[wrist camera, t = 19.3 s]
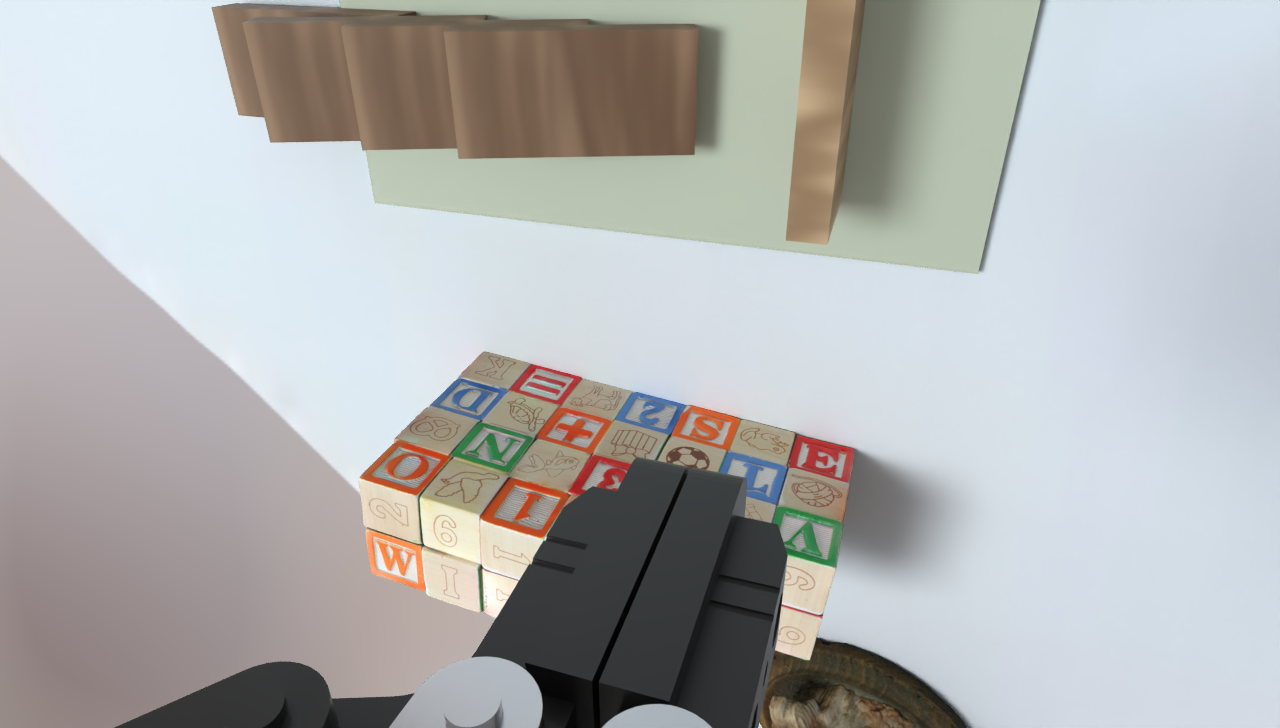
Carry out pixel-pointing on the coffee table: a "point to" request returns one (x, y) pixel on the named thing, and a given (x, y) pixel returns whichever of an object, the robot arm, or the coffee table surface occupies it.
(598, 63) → the domino
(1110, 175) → the coffee table surface
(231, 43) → the domino
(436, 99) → the domino
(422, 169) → the mat
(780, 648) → the stack of blocks
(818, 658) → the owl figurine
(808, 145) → the domino
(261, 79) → the domino
